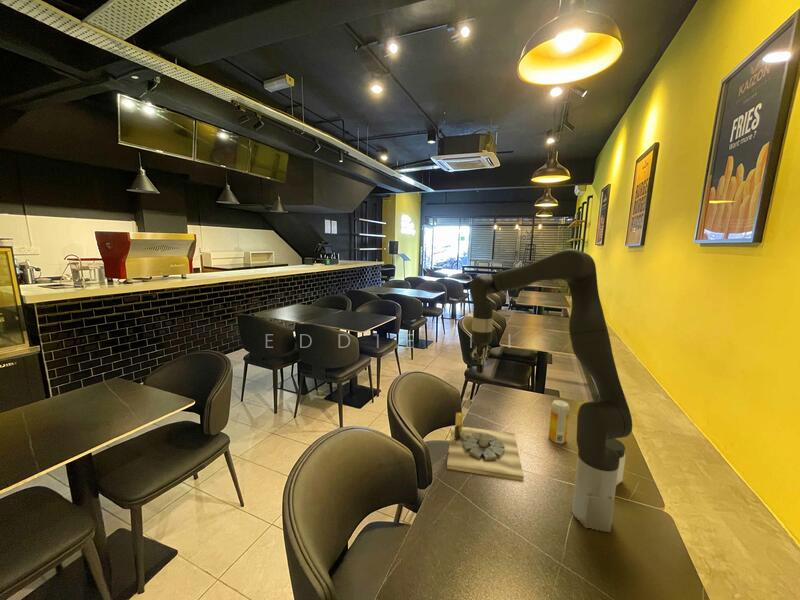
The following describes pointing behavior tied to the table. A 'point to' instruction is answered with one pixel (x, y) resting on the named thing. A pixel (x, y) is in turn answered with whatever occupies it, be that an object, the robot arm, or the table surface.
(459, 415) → the flange
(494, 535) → the table surface
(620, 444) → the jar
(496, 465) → the base
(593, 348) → the robot arm
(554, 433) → the orange white canister
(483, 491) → the table surface
